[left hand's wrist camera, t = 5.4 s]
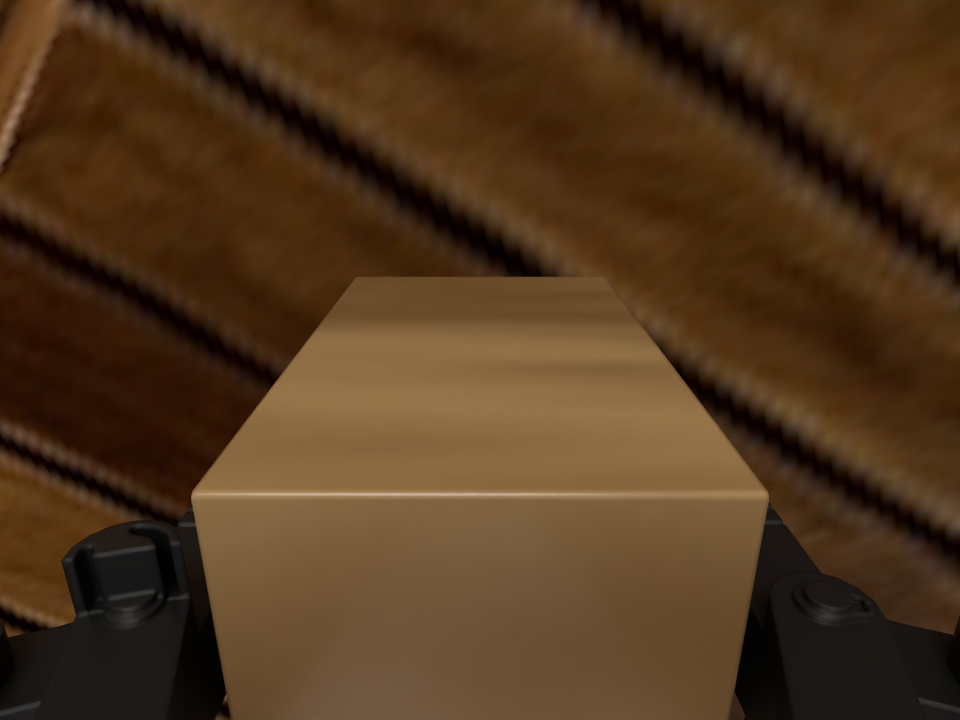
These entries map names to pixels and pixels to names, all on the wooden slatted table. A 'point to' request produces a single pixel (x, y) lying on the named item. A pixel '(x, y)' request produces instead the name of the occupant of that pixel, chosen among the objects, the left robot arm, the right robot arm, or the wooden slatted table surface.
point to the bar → (480, 517)
